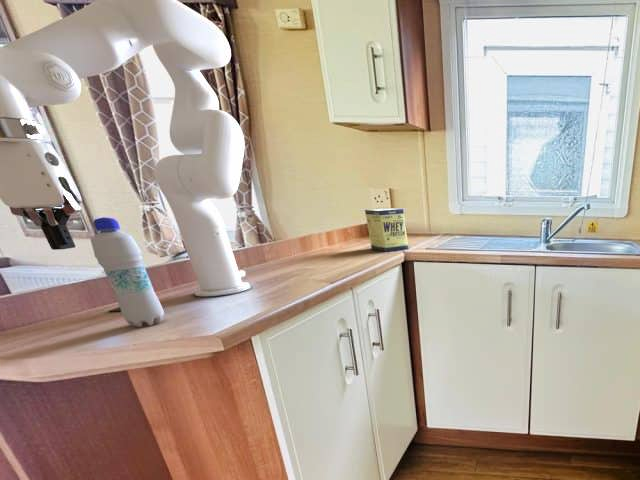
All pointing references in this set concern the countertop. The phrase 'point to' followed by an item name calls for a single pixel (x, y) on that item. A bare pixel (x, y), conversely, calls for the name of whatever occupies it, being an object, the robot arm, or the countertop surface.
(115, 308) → the bottle marker
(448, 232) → the countertop surface
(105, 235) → the bottle
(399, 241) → the protein box
